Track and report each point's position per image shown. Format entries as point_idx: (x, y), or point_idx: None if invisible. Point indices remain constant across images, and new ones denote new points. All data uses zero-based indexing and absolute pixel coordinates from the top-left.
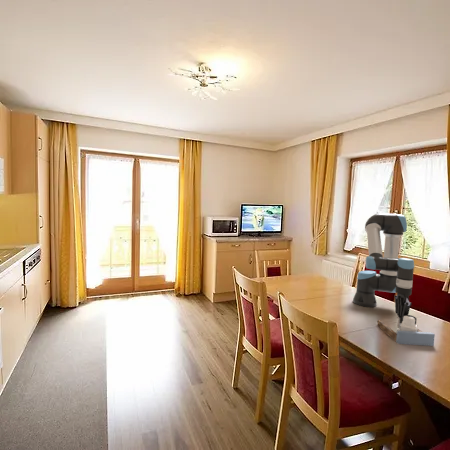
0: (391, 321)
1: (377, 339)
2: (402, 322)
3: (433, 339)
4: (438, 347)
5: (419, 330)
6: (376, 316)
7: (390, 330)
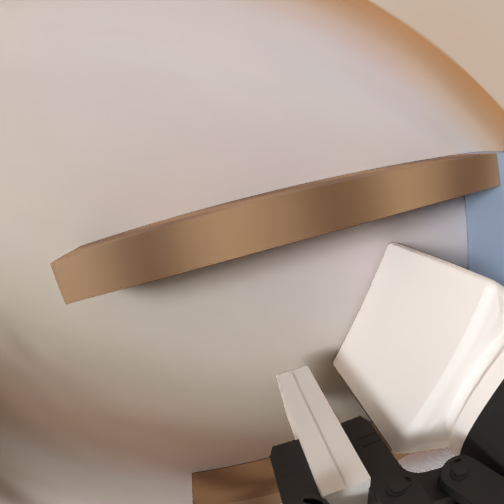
0: (23, 372)
1: (428, 457)
2: (433, 446)
3: None
4: (483, 126)
5: (355, 193)
6: (7, 439)
7: (406, 453)
